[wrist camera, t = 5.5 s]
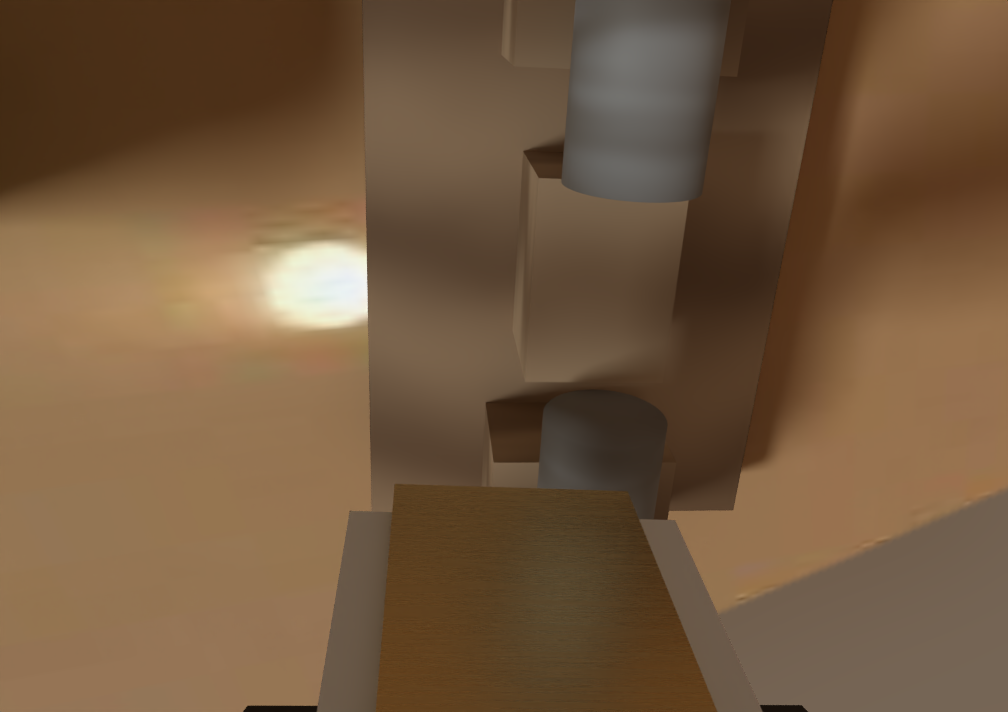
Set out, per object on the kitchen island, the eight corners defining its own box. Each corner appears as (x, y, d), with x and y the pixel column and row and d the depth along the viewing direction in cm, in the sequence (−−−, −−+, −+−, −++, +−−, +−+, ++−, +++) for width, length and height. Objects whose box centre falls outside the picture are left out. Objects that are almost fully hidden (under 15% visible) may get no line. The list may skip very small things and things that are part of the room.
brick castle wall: (365, -133, 21) (327, -208, 13) (819, -102, 22) (1032, -154, 14) (375, 483, 28) (355, 670, 20) (713, 482, 29) (815, 659, 22)
